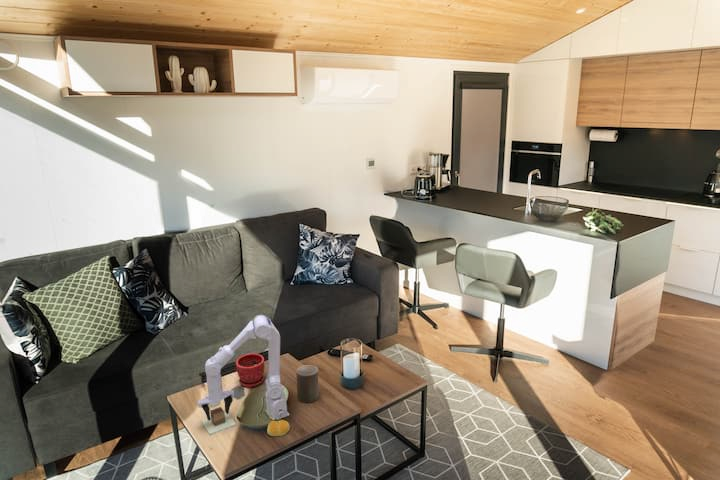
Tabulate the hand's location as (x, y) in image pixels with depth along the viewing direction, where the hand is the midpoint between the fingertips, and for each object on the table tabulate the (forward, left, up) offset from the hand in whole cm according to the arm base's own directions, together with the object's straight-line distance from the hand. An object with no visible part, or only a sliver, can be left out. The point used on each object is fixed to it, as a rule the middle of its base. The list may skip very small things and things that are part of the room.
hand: (218, 416), depth 204 cm
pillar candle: (-5, -39, -4) cm, 40 cm away
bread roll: (-19, -18, -4) cm, 26 cm away
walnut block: (0, 0, -3) cm, 3 cm away
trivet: (0, 0, -3) cm, 3 cm away
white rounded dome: (+15, -3, -3) cm, 16 cm away
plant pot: (+22, -23, -4) cm, 32 cm away
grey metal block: (+14, -14, -3) cm, 20 cm away
